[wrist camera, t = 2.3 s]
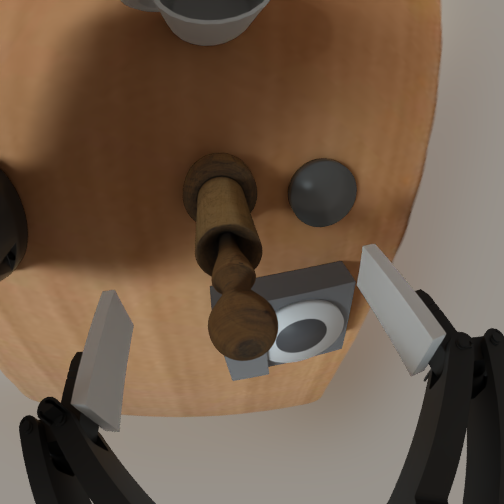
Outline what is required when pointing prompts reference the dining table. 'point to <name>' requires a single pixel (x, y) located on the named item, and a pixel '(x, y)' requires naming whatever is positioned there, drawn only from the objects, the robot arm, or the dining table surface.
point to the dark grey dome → (322, 192)
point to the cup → (204, 17)
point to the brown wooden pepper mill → (230, 254)
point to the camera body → (300, 315)
